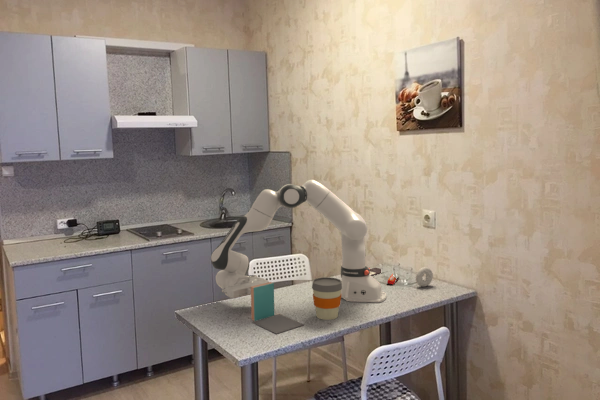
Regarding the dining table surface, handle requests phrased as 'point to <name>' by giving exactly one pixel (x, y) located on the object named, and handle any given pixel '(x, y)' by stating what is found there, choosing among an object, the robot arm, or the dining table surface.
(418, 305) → the dining table surface
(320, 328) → the dining table surface
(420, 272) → the donut
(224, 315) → the dining table surface
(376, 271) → the chocolate bar
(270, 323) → the mat
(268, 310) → the tile
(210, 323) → the dining table surface
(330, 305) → the reusable coffee cup
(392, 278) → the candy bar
